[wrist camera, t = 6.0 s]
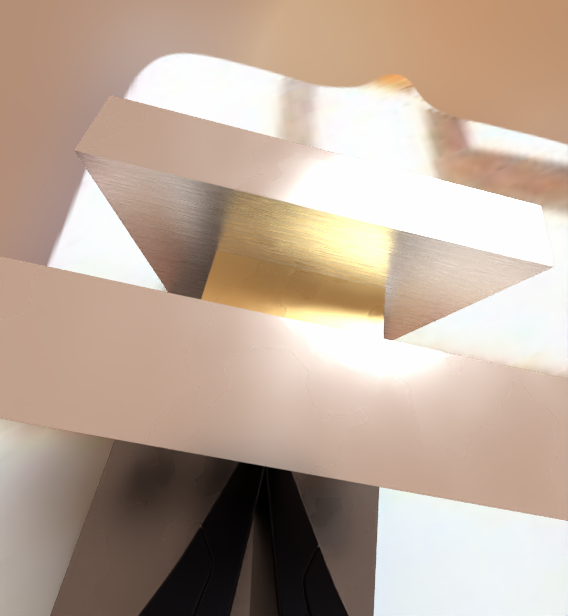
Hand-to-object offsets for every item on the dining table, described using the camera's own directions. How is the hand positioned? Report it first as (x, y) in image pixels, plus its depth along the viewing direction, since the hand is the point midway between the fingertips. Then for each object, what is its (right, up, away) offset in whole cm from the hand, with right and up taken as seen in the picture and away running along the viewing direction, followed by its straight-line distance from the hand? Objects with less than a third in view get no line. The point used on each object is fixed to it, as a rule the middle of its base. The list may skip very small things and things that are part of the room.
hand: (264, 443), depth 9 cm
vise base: (-1, -2, +7) cm, 7 cm away
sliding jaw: (-1, -1, +6) cm, 6 cm away
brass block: (0, +2, +7) cm, 7 cm away
